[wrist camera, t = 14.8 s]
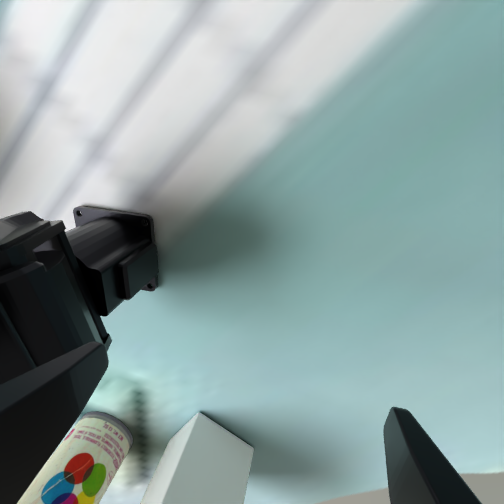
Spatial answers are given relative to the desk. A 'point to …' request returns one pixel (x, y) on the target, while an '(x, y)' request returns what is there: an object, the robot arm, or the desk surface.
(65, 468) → the aerosol can
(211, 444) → the milk carton
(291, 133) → the desk surface
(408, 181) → the desk surface
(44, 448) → the robot arm
